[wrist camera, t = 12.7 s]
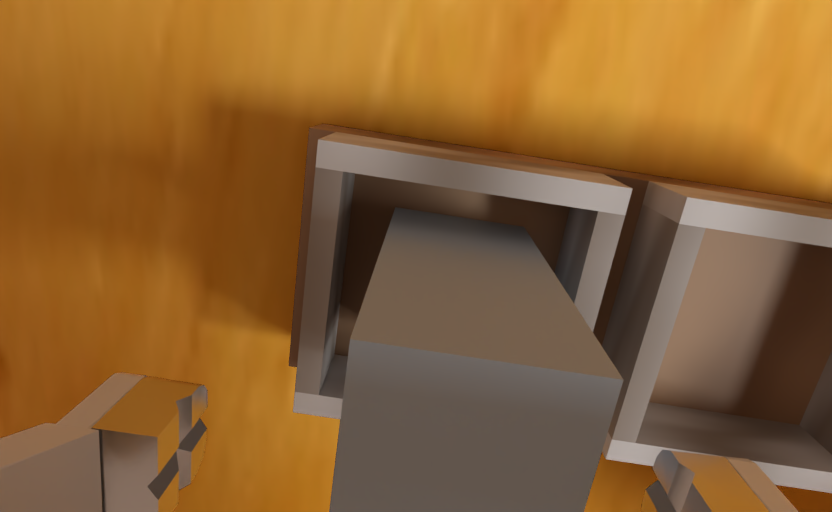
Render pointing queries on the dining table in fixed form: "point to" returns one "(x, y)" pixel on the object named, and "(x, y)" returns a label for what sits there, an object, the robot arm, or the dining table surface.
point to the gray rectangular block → (469, 378)
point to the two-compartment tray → (604, 288)
